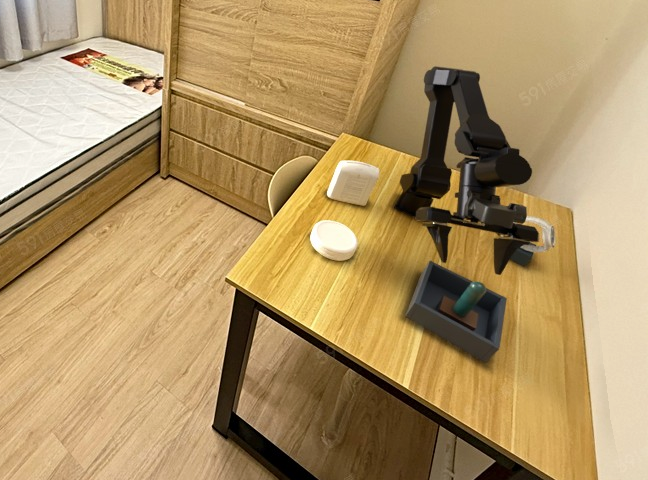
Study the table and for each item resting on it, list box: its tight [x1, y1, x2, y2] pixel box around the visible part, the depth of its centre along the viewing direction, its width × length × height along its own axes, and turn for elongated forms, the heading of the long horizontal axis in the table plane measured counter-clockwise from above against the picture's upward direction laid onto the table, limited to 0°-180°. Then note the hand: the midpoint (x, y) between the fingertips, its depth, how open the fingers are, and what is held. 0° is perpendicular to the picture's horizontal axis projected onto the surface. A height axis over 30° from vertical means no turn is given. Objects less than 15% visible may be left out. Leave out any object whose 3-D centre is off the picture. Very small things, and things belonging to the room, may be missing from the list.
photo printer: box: [326, 160, 380, 207], centre depth 107 cm, size 10×4×12 cm, turn 73°
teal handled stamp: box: [435, 280, 487, 331], centre depth 77 cm, size 6×4×12 cm, turn 49°
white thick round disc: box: [309, 219, 359, 262], centre depth 96 cm, size 10×10×4 cm
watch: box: [509, 215, 556, 267], centre depth 92 cm, size 6×8×11 cm
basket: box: [404, 260, 508, 364], centre depth 81 cm, size 14×14×5 cm
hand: (470, 268), depth 78 cm, fingers open, 9 cm apart
